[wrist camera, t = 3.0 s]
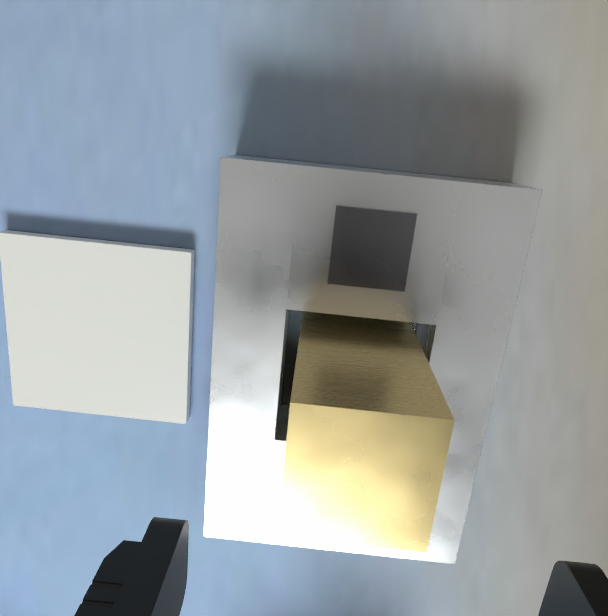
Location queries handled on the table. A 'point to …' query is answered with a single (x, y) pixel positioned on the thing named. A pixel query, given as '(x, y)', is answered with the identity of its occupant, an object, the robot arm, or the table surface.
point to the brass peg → (363, 435)
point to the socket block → (354, 314)
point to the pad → (98, 325)
